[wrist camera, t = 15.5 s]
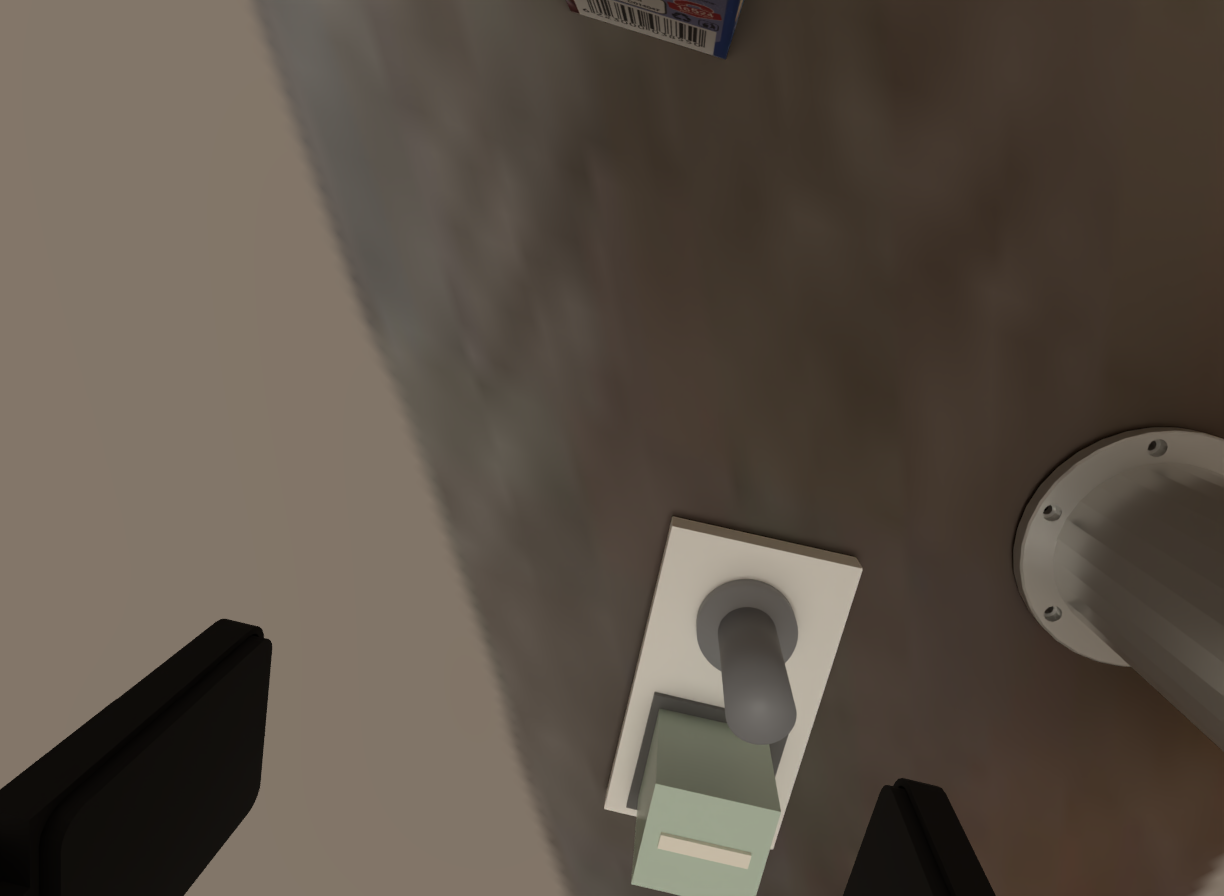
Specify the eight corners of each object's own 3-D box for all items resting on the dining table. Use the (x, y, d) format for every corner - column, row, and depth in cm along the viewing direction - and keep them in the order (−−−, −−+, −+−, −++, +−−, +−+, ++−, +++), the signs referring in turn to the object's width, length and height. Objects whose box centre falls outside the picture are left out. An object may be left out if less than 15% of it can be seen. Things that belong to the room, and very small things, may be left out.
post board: (672, 516, 40) (669, 594, 30) (856, 557, 39) (908, 648, 30) (606, 790, 44) (586, 930, 35) (769, 829, 44) (792, 980, 35)
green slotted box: (767, 732, 40) (781, 815, 34) (741, 821, 42) (751, 915, 36) (659, 708, 40) (655, 786, 35) (638, 797, 42) (630, 887, 36)
